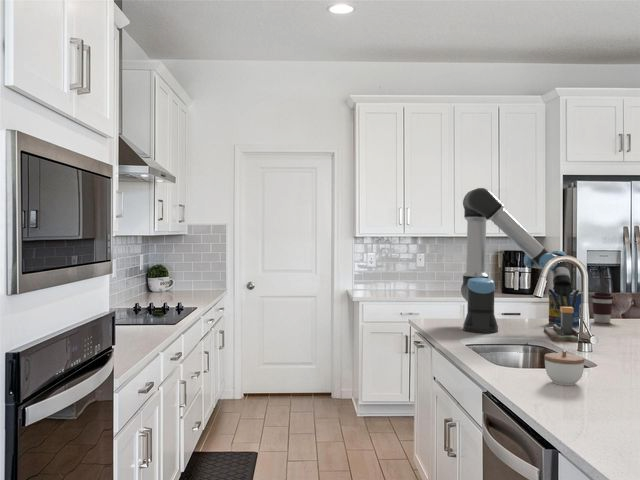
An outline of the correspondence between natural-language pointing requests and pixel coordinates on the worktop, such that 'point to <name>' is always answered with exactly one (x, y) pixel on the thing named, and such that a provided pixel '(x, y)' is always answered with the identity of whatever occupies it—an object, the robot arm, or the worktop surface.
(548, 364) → the lidded jar
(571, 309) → the switch handle
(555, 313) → the protein box
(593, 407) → the worktop surface
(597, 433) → the worktop surface
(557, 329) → the switch panel
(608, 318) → the coffee cup
